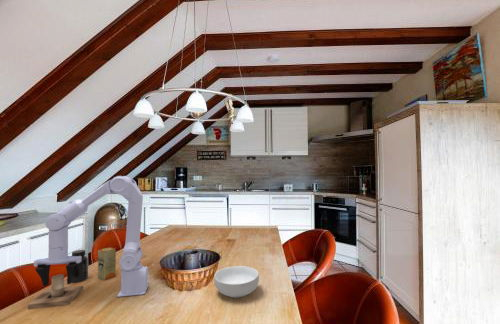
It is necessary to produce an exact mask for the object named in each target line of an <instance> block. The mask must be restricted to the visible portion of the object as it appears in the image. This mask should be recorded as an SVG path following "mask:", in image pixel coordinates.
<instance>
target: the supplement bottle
mask: <svg viewBox="0 0 500 324" xmlns="http://www.w3.org/2000/svg"><path fill="white" fill-rule="evenodd" d="M71 256H81V262H80V263H79V264H78V266H77V268H76V270H75V273H74V276H73V280H72V283H71V284H73V283H81V282H84V281H85V280H87V279H88V277H89V258H88V256H86V250H85V249H78V250H77V249H76V250H74V251H72V252H71Z"/></svg>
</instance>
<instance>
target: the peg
mask: <svg viewBox="0 0 500 324" xmlns="http://www.w3.org/2000/svg"><path fill="white" fill-rule="evenodd" d="M64 284H65V275H64V274H61V273H59V274H55V275H53V276H51V284H50V285H51V288H50V289H51V298H56V297H63V296H64V287H65V286H64Z"/></svg>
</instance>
